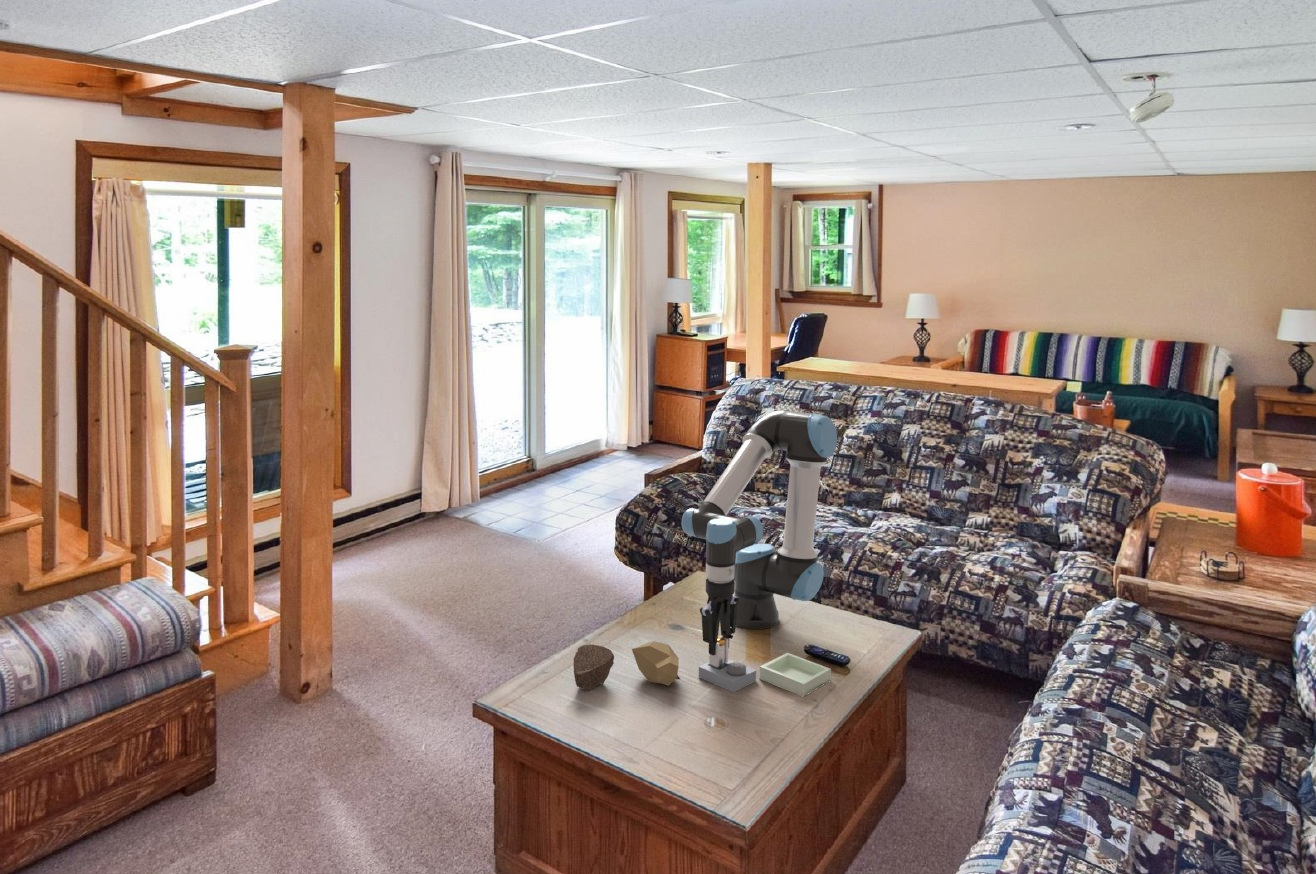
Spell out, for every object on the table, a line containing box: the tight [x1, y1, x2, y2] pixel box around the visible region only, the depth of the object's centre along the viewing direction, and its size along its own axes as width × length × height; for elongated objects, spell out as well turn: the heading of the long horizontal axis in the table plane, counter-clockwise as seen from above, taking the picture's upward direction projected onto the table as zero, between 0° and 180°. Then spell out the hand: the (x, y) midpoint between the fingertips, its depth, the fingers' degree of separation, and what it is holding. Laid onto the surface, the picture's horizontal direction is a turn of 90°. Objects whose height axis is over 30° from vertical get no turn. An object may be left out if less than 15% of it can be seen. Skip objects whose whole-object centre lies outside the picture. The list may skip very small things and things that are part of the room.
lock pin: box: [713, 636, 725, 670], centre depth 247 cm, size 3×3×10 cm
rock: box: [573, 644, 615, 692], centre depth 241 cm, size 12×10×10 cm
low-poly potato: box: [631, 641, 681, 686], centre depth 243 cm, size 15×11×12 cm
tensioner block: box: [698, 658, 757, 693], centre depth 245 cm, size 12×9×6 cm
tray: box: [759, 652, 832, 697], centre depth 245 cm, size 14×12×4 cm
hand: (718, 662), depth 247 cm, fingers closed on lock pin, 3 cm apart
